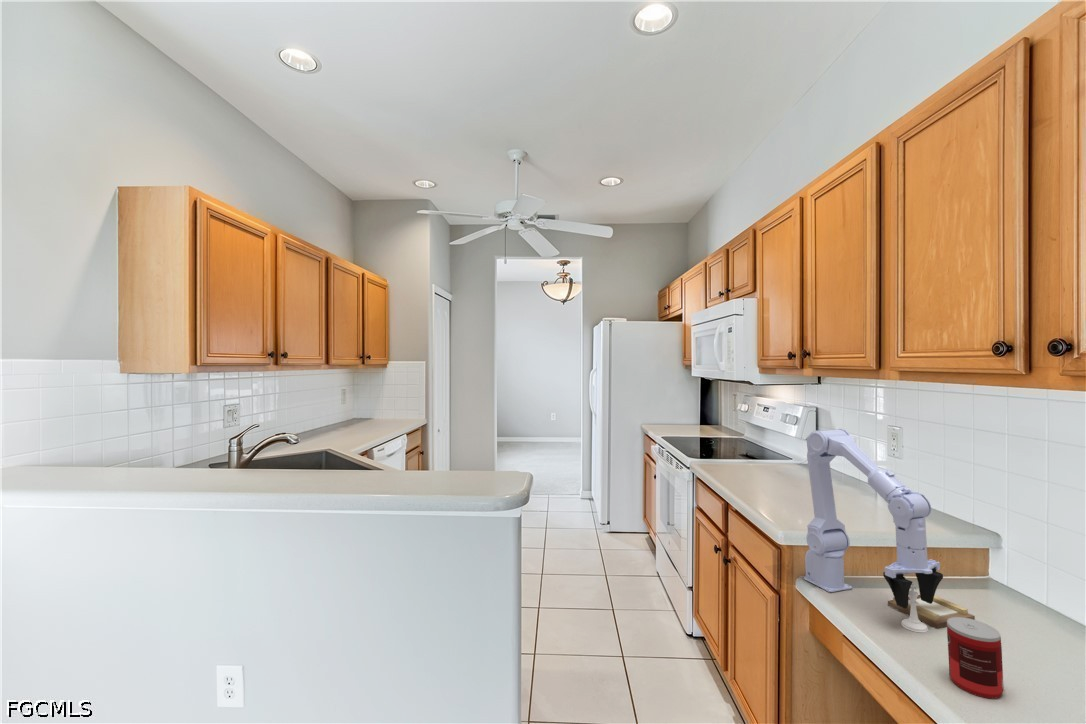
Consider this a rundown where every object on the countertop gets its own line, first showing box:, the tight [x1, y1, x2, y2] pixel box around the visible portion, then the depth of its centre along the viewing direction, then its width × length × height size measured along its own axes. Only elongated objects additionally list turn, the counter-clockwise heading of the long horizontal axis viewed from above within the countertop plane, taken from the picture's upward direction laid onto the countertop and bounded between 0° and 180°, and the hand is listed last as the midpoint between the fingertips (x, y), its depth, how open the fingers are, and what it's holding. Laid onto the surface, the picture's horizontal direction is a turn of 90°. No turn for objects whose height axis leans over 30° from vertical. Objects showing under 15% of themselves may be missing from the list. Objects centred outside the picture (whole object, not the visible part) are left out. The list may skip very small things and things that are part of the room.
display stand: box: [887, 594, 976, 630], centre depth 119 cm, size 12×12×2 cm
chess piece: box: [901, 583, 929, 634], centre depth 112 cm, size 5×5×10 cm
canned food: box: [946, 617, 1005, 699], centre depth 91 cm, size 8×8×11 cm
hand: (914, 604), depth 112 cm, fingers open, 7 cm apart
